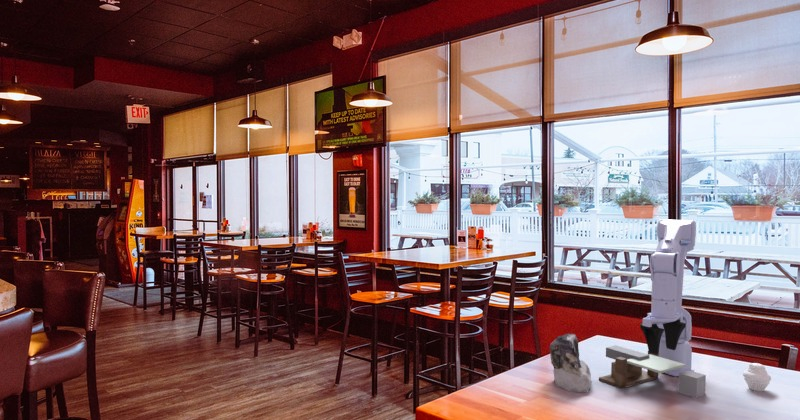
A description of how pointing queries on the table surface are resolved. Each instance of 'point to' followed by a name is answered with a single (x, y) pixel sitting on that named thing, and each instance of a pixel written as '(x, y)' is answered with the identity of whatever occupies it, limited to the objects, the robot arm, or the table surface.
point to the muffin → (756, 377)
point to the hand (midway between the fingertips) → (662, 351)
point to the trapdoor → (643, 359)
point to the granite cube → (692, 383)
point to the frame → (627, 374)
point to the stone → (569, 364)
